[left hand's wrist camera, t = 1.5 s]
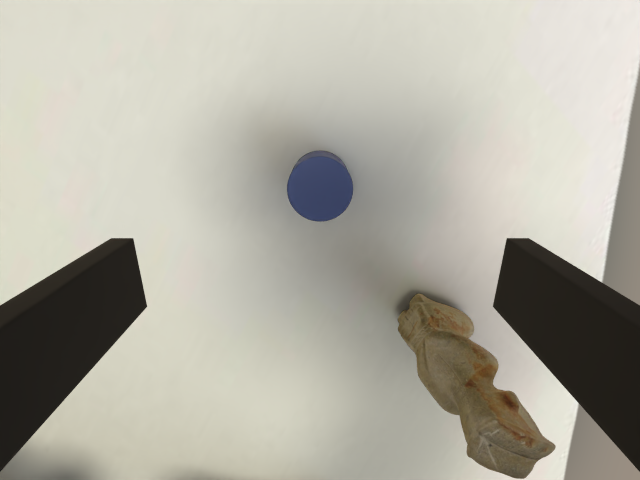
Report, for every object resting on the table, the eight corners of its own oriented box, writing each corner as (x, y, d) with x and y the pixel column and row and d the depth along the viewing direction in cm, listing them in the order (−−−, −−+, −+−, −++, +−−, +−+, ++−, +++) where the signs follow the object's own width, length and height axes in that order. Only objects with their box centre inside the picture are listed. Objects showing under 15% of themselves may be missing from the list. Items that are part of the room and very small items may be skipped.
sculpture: (438, 351, 36) (514, 503, 22) (382, 319, 35) (426, 460, 21) (475, 310, 34) (584, 447, 20) (418, 275, 33) (492, 396, 19)
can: (320, 137, 29) (320, 141, 25) (360, 180, 30) (366, 190, 26) (279, 180, 30) (273, 189, 26) (319, 219, 31) (319, 234, 27)
